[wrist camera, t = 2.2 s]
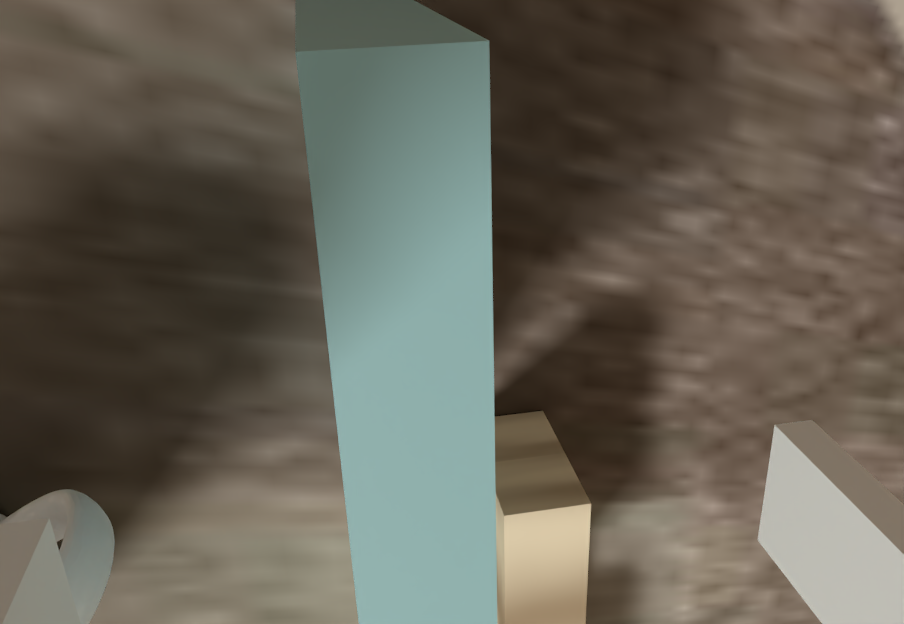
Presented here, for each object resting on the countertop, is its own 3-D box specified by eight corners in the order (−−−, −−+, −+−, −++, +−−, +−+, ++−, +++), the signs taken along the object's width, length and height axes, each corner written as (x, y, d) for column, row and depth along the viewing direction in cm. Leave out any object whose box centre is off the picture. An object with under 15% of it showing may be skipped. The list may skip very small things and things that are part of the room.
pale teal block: (295, -7, 25) (295, 51, 12) (393, -11, 25) (489, 40, 13) (343, 435, 32) (374, 761, 19) (419, 425, 32) (499, 739, 20)
